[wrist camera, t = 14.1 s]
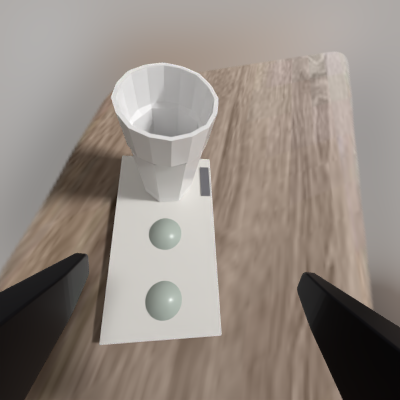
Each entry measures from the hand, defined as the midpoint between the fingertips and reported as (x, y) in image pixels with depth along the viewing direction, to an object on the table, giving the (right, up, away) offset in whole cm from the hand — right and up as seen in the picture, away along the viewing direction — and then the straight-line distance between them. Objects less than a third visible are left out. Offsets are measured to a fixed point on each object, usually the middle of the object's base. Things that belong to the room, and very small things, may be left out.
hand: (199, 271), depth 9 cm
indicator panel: (-3, -1, +13) cm, 13 cm away
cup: (-4, +5, +15) cm, 16 cm away
